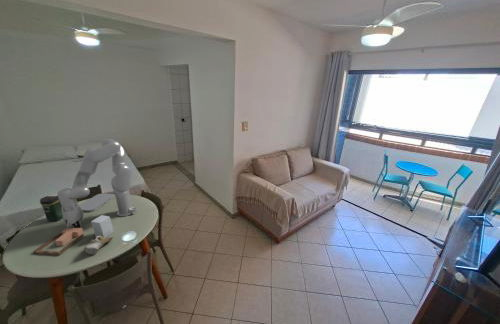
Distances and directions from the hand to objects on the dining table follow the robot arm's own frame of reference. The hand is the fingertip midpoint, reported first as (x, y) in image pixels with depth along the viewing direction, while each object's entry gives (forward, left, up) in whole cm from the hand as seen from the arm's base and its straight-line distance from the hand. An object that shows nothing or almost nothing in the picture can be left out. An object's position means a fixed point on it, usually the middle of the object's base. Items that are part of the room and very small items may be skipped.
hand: (78, 229), depth 132 cm
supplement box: (-21, +2, -1) cm, 21 cm away
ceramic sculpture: (-26, +13, -2) cm, 29 cm away
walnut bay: (0, +12, -1) cm, 12 cm away
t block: (-1, +7, -1) cm, 7 cm away
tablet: (+16, -34, -2) cm, 37 cm away
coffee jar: (+28, -11, -1) cm, 30 cm away
